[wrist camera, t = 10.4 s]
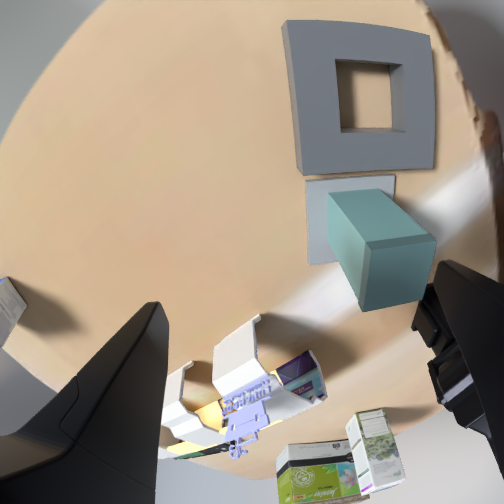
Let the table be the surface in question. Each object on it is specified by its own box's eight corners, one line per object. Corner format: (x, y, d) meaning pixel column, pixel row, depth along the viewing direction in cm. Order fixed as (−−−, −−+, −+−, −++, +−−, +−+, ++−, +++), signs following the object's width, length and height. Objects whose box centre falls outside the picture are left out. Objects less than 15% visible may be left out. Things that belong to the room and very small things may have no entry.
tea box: (357, 436, 47) (372, 498, 34) (338, 452, 52) (349, 507, 39) (285, 443, 45) (294, 513, 32) (273, 458, 50) (279, 518, 37)
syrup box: (344, 426, 42) (360, 497, 30) (354, 411, 39) (374, 489, 27) (372, 421, 43) (391, 488, 31) (384, 406, 40) (407, 479, 27)
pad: (392, 173, 20) (394, 175, 19) (385, 251, 23) (387, 254, 23) (304, 180, 20) (306, 182, 20) (308, 262, 24) (309, 265, 23)
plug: (378, 187, 20) (437, 240, 13) (374, 235, 22) (422, 299, 15) (327, 192, 20) (370, 250, 13) (327, 241, 22) (362, 312, 15)
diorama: (251, 305, 26) (261, 442, 15) (317, 351, 30) (342, 459, 19) (124, 394, 35) (107, 476, 23) (182, 421, 39) (176, 496, 28)
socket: (414, 37, 14) (429, 35, 12) (418, 160, 19) (432, 168, 17) (281, 27, 14) (286, 20, 12) (296, 167, 19) (302, 175, 18)
